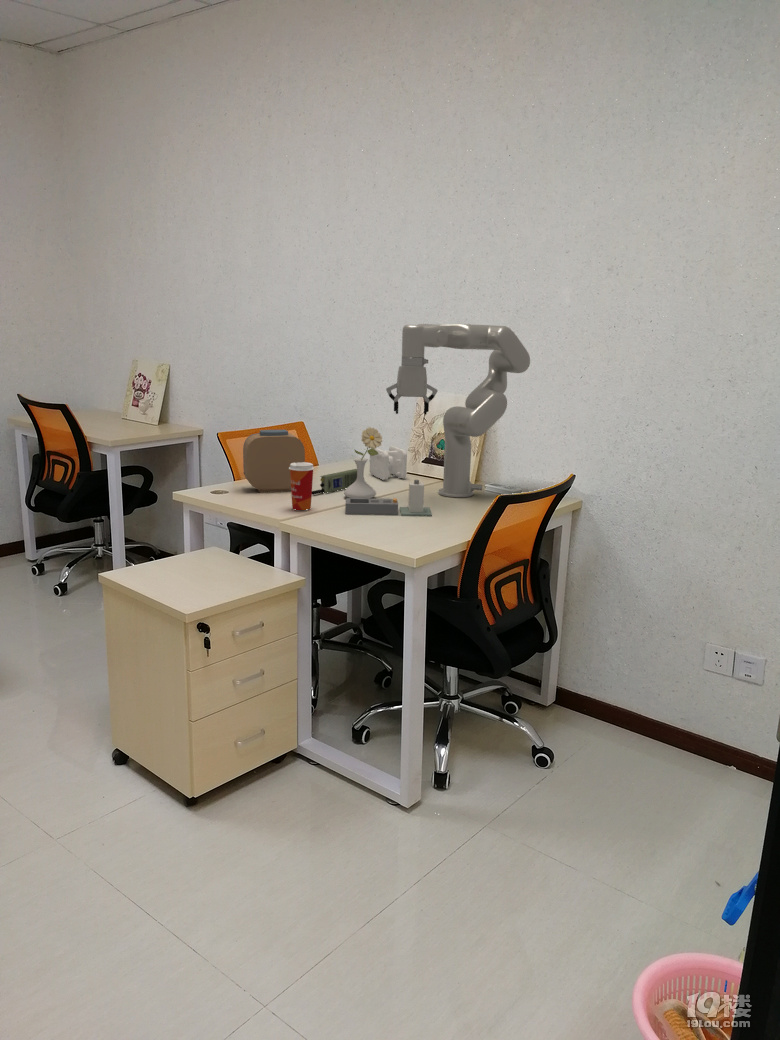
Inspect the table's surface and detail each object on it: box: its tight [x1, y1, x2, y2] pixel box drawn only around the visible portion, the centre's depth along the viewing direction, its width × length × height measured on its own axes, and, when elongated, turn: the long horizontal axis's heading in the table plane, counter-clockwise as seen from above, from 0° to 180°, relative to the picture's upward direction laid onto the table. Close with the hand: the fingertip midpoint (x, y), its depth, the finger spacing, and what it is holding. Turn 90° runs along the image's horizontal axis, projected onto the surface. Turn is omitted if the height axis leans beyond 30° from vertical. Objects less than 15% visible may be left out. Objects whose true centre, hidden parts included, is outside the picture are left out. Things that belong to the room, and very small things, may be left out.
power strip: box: [344, 497, 399, 516], centre depth 272 cm, size 17×8×4 cm, turn 92°
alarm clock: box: [242, 429, 306, 493], centre depth 299 cm, size 21×10×22 cm, turn 108°
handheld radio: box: [312, 468, 357, 496], centre depth 302 cm, size 7×3×25 cm
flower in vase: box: [343, 426, 383, 499], centre depth 289 cm, size 13×11×25 cm
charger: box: [407, 479, 425, 512], centre depth 272 cm, size 4×4×10 cm
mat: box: [399, 506, 433, 517], centre depth 273 cm, size 10×10×1 cm
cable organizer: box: [369, 445, 408, 481], centre depth 327 cm, size 15×11×12 cm
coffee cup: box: [289, 461, 315, 511], centre depth 272 cm, size 8×8×15 cm
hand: (411, 413), depth 282 cm, fingers open, 9 cm apart
